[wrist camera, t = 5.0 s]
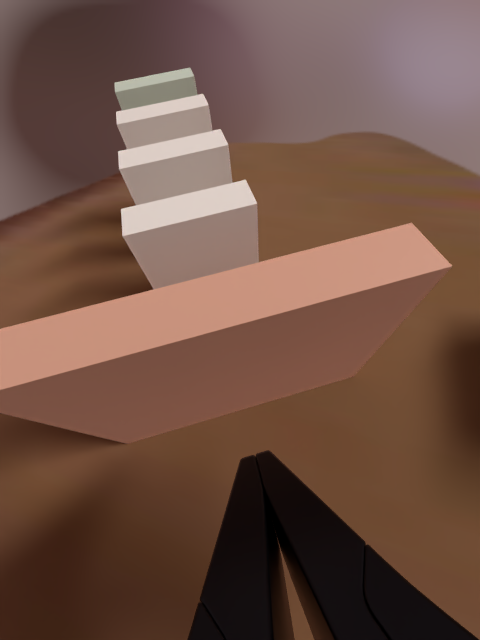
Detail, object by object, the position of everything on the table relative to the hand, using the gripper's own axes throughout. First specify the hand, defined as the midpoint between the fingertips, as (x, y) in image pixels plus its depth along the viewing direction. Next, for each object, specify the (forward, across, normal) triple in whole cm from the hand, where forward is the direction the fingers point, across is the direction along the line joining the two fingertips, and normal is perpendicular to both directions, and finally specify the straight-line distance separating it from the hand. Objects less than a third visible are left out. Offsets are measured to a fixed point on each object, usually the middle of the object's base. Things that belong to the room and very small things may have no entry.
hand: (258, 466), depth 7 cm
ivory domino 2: (+15, 0, -4) cm, 15 cm away
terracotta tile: (+9, 0, +2) cm, 9 cm away
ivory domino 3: (+12, 0, -1) cm, 12 cm away
